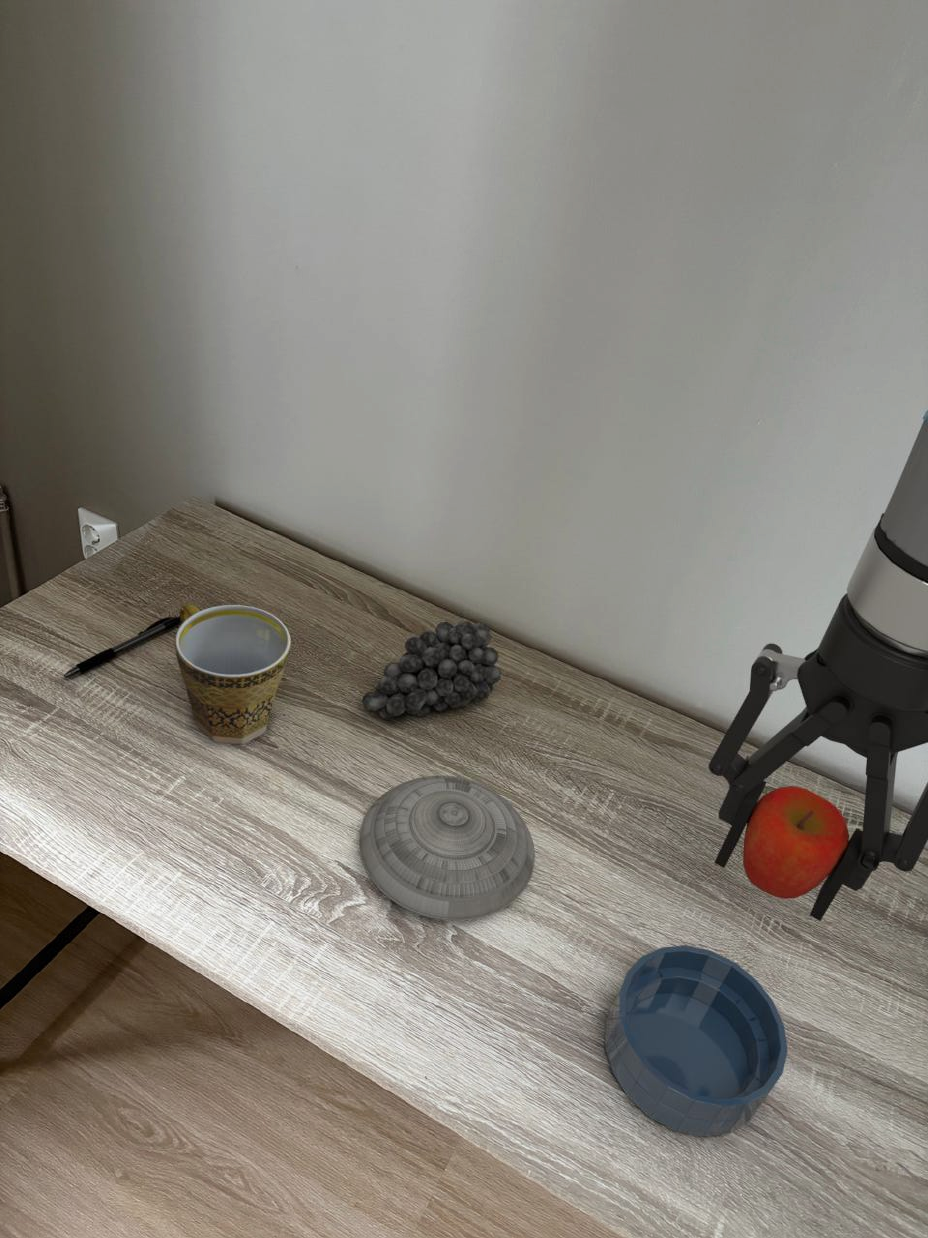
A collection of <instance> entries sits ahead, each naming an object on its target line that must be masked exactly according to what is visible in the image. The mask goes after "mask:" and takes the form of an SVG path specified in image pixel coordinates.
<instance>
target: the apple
mask: <svg viewBox="0 0 928 1238" xmlns="http://www.w3.org/2000/svg"><path fill="white" fill-rule="evenodd" d="M744 832H745V833H744V837H743V846H742V847H743V849H742V866H743V869H744V872H745V875H746V877H747V880H748V881H749V882H750V884H751V885H753V886H754V887H756V889H759V890H760V891H762V892H764V893H765V894H767V895H770V896H772V897H775V898H778V899H783V900H788V899H789V900H790V899H791V900H792V899H796V898H800V897H801V896H804V895H807V894H809V893H810V892H811V891H813V890H814V889H815V888H817V887H818V886H820V885H821V883H822V882H823V881H825V880H826V879H827V877H828V875H829V874H830V873H831V872H832V871H833V869H834V868H835V867H836V866H837V865H838V863H839V862H840V860H841V858H842V856H843V854H844V853H845V851H846V849H847V847H848V841H849V839H850V833H849V828H848V824H847V820H846V818H845V817H844V816H843V814H842V813H841V811H840V809H839V808H838V806H836V805H835V804H833V803H832V802H831V801H830V800H828V799H826V798H825V797H822V796H820V795H819V794H817V793H815V792H813V791H811V790H810V789H808V788H804V787H800V786H795V785H788V786H782V787H781V786H780V787H777V788H776V789H773V790H771V791H770V792H767V793H764V794H763V795H762V796H760V798H759V800H758V802H757V803H756V804H755V806H754V808H753V810H752V812H751V815H750V817H749V819H748V822H747V824H746V826H745V831H744Z"/></svg>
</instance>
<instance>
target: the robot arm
mask: <svg viewBox="0 0 928 1238" xmlns="http://www.w3.org/2000/svg"><path fill="white" fill-rule="evenodd" d="M922 420H923V422H922V424H921V426H920V429H919V431H918V433H917V436H916V438H915V441H914V442H913V446H912V447H911V450H910V452H909V454H908V457H907V460H906V463H905V464H904V467H903V469H902V471H901V474H900V476H899V479H898V481H897V484H896V486H895V488H894V491H893V493H892V495H891V497H890V500H889V501H888V503H887V506H886V508H885V511H884V512H883V513H881V515H880V519H879V521H878V522H877V524H876V526H875V527H874V529H873V530H872V532H871V534H870V536H869V538H868V541H867V542H866V545H865V547H864V549H863V551H862V553H861V555H860V558H859V560H858V562H857V563H856V566H855V569H854V571H853V572H852V575H851V577H850V579H849V581H848V584H847V587H846V593H845V594H844V595H843V596H842V597H841V598H840V601H839V603H838V605H837V607H836V609H835V611H834V613H833V615H832V618H831V619H830V622H829V623H828V626H827V628H826V630H825V632H824V634H823V636H822V638H821V641H820V643H819V645H818V647H817V648H816V649H815V650H813V651H811V652H810V653H808V654H807V655H805V657H804V658H803V657H798V656H793V655H790V654H789V655H788V654H783V649H782V647H780V646H779V645H778V644H776V643H773V642H772V643H767V644H765V646H764V647H762V650H761V651H760V652H759V654H758V656H757V657H756V658H755V660H754V662H753V664H752V665H751V669H750V678H749V679H750V680H749V681H750V682H749V691H748V694H747V695H746V697H745V699H744V700H743V702H742V704H741V706H740V707H739V709H738V711H737V713H736V714H735V717H734V718H733V720H732V721H731V724H730V725H729V727H728V729H727V730H726V732H725V734H724V736H723V738H722V739H721V742H720V743H719V745H718V747H717V748H716V751H715V752H714V754H713V756H712V757H711V760H710V761H709V763H708V770H709V772H710V773H712V774H713V775H714V776H717V777H723V778H724V779H725V780H726V781H727V783H728V787H729V788H728V790H727V793H726V794H725V797H724V799H723V801H722V803H721V806H720V808H719V810H718V819H719V821H722V822H723V823H726V824H728V825H729V826H730V828H729V830H728V832H727V834H726V837H725V839H724V841H723V843H722V845H721V847H720V849H719V852H718V853H717V856H716V858H715V860H714V864H715V865H717V866H719V867H721V868H723V869H725V867H726V865H727V864H728V862H729V860H730V858H731V857H732V854H733V852H734V850H735V849H736V847H737V845H738V843H739V840H740V839H741V837H742V835H743V833H744V832H745V831H744V830H746V826H747V822H748V819H749V817H750V815H751V812H752V810H753V808H754V806H755V804H756V803H757V802H758V801H759V800H760V798H761V795H762V793H763V792H764V790H765V787H766V785H767V781H765V780H767V778H769V777H770V776H771V775H773V774H774V773H775V772H776V771H778V769H779V768H781V767H782V766H783V765H784V764H786V763H787V762H788V761H789V760H791V759H792V758H793V757H794V756H796V754H798V753H799V752H800V751H802V750H803V749H804V748H805V747H809V746H811V745H812V744H813V743H815V741H817V740H818V739H819V738H820V737H822V738H825V740H828V741H830V742H834V743H837V744H842V745H845V746H846V747H848V749H850V750H851V751H853V752H854V753H855V754H857V755H859V756H861V757H864V758H866V764H865V775H866V781H865V782H866V784H865V795H864V796H865V797H864V807H863V809H864V810H863V821H862V830H861V829H859V828H857V827H856V828H855V829H854V831H853V833H852V834H851V836H850V837H849V841H848V847H847V849H846V851H845V853H844V854H843V856H842V858H841V860H840V862H839V863H838V865H837V866H836V867H835V868H834V869H833V871H832V872H831V873H830V874H829V875H828V876H827V878H826V879H824V882H823V884H822V886H821V887H820V889H819V890H818V891H819V892H818V894H817V896H816V899H815V901H814V903H813V905H812V908H811V911H810V913H809V916H810V917H812V918H814V919H815V920H817V921H819V922H821V921H822V919H823V918H824V916H825V915H826V913H827V911H828V909H829V908H830V906H831V904H832V903H833V901H834V900H835V898H836V896H837V894H838V893H839V891H840V889H841V888H842V886H845V887H846V888H849V889H851V890H852V891H855V892H857V891H859V890H861V889H863V887H864V885H865V884H866V882H867V881H868V879H869V877H870V876H871V874H872V872H875V871H877V870H878V869H879V866H880V863H890V864H893V865H894V866H895V868H896V869H897V870H899V871H901V872H911V871H913V869H914V868H915V866H916V864H917V862H918V860H919V858H920V857H921V854H922V852H923V851H924V848H925V846H926V845H927V843H928V781H927V782H926V785H925V787H924V789H923V791H922V793H921V795H920V797H919V799H918V801H917V803H916V805H915V807H914V810H913V812H912V814H911V816H910V818H909V819H908V822H907V824H906V826H905V828H904V830H903V832H902V834H899V833H893V832H891V824H892V823H891V822H892V815H893V814H892V812H893V803H894V802H893V801H894V792H895V782H896V781H895V780H896V770H897V763H898V762H897V761H898V760H897V759H898V754H899V753H900V752H903V751H906V750H909V749H912V748H916V747H919V746H922V745H926V744H928V410H927V411H925V413H924V415H923V417H922ZM791 680H797V682H798V685H799V688H800V691H801V694H802V698H803V700H804V704H805V707H804V708H803V710H802V711H801V712H800V713H799V714H798V715H797V716H795V717H794V718H793V719H792V720H790V721H789V723H787V724H786V725H784V726H783V728H781V729H780V730H779V731H777V733H776V734H774V735H773V736H772V737H771V738H770V739H768V741H766V742H765V743H764V744H763V745H762V746H761V747H759V748H758V749H757V750H756V751H755V752H754V753H753V754H751V755H750V756H749V755H747V756H746V757H745V758H744V757H743V756H742V755H741V754H740V753H739V751H740V749H741V748H742V746H743V744H744V743H745V741H746V739H747V737H748V736H749V734H750V732H751V730H752V729H753V727H754V726H755V724H756V723H757V720H758V719H759V717H760V715H761V713H762V711H763V710H764V708H765V707H766V705H767V703H768V701H769V699H770V698H771V697H772V695H773V693H774V692H777V691H779V690H784V689H785V688H786V686H787V685H788V683H789V681H791Z"/></svg>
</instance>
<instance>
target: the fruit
mask: <svg viewBox="0 0 928 1238" xmlns="http://www.w3.org/2000/svg"><path fill="white" fill-rule="evenodd" d="M492 638H493V636H492V634H491V630H490V626H489V625H487V624H486V623H484V622H482V621H480V622H479V621H478V622H476V623H474V624H472V623H471V622H470V621H469V620H460V621H459V622H458V623H457V624H456V625H453V624H452V623H451V622H449V621H440V622H439V623H437V625H436V628H435V631H432V630H426V631H423V632H421V634H420V635H419V636H415V635H414V636H410V637H409V638H408V639H407V640H406V641H405V643H404V648H405V650H406V652H405V653H403V654H402V655H401V656H400V658H399V661H398V662H389V663H387V664H386V665H385V667H384V669H383V676H381V678H380V679H379V680H378V682H377V684H376V685H375V687H374V691H368V692H366V693H365V694H364V695H363V696H362V699H361V703H362V705H363V708H364V709H365V710H366V711H367V712H374V711H375V712H376V711H378V714H379V716H380V717H381V719H383V720H388V721H392V720H394V719H396V717H398V716H400V715H402V714H404V712H406V713H408V714H409V715H416V716H418V717H422V718H423V717H426V715H428V714H429V713H430V711H431V706H432V707H433V708H434V711H436V712H437V711H438V712H443V711H446V710H447V708H448V706H449V708H452V709H459V708H461V707H462V708H464V707H466V706H468V705H469V704H470V702H471V700H473V699H475V700H477V701H485V700H488V698H489V696H490V694H491V693H492V692H493V691H494V684H496V683H498V682H499V681H500V680H501V672H502V671H501V670H500V668H499V666H497V665H495V664H496V663H497V662H498V660H499V657H502V654H500V653H499V652H498V651H497V650H496V649H495V648H494V647H492V646H489V645H491V642H492Z"/></svg>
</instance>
